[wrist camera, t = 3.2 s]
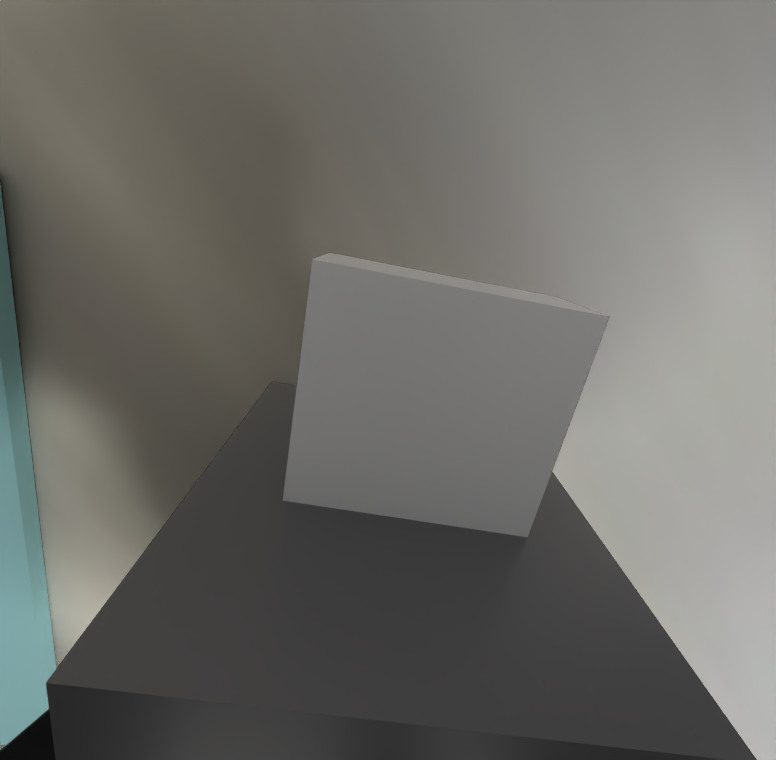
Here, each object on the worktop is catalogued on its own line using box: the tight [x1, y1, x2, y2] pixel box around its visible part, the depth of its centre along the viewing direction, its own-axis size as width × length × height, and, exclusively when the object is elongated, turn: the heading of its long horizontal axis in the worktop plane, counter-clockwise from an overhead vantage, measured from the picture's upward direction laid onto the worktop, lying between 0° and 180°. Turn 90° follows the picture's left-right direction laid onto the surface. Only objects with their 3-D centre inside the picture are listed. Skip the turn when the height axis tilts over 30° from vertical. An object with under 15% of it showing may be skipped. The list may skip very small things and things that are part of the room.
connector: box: [46, 253, 757, 760], centre depth 6 cm, size 12×4×5 cm, turn 169°
